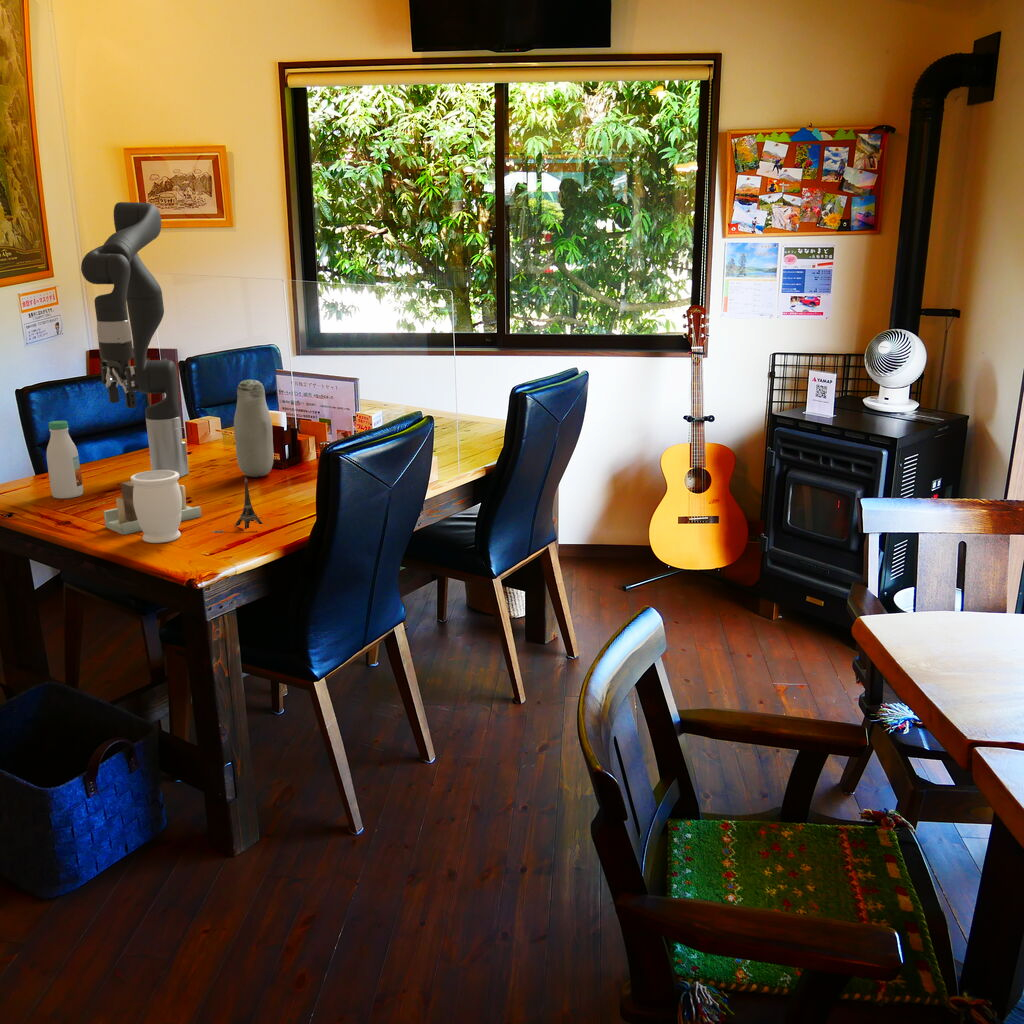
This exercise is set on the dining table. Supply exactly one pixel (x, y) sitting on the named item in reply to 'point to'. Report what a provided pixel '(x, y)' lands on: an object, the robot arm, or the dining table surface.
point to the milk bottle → (63, 463)
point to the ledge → (118, 521)
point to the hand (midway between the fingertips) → (123, 405)
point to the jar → (158, 504)
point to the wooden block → (129, 500)
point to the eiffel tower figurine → (247, 510)
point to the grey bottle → (253, 430)
